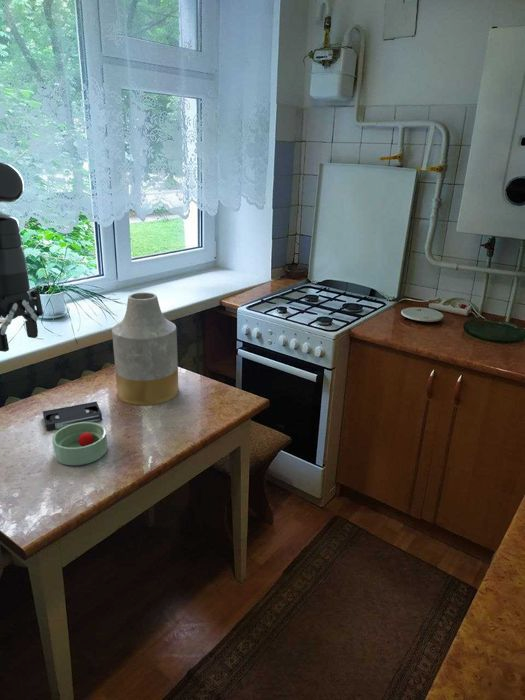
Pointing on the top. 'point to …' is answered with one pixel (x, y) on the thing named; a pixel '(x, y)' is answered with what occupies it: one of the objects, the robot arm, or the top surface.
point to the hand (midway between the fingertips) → (18, 343)
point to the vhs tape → (71, 415)
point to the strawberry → (86, 439)
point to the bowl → (72, 451)
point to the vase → (145, 353)
